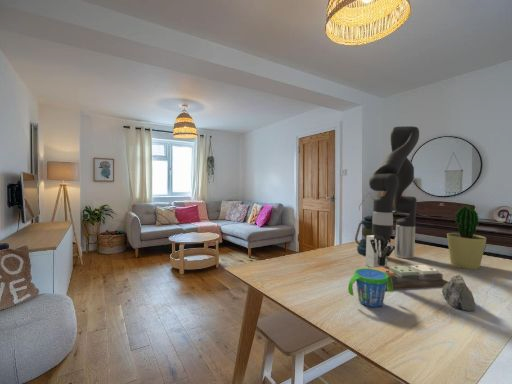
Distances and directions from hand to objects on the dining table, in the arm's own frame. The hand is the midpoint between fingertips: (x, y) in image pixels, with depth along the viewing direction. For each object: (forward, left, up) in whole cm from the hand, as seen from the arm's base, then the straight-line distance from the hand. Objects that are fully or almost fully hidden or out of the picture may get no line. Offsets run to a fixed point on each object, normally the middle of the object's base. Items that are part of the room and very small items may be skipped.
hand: (381, 265), depth 107 cm
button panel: (0, +10, -7) cm, 12 cm away
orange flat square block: (0, 0, -4) cm, 4 cm away
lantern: (-40, +20, -7) cm, 46 cm away
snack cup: (+16, -15, -7) cm, 23 cm away
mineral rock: (+20, +15, -7) cm, 26 cm away
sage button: (0, +10, -4) cm, 11 cm away
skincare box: (-19, +11, -7) cm, 23 cm away
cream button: (0, +20, -4) cm, 20 cm away
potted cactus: (-14, +56, -7) cm, 58 cm away
